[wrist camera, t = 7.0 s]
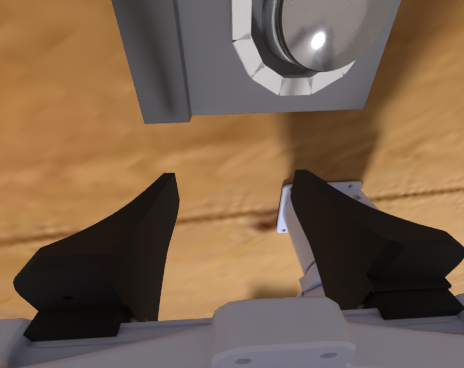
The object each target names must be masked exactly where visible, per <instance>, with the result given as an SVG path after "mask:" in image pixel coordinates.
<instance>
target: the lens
mask: <svg viewBox="0 0 464 368" xmlns="http://www.w3.org/2000/svg"><path fill="white" fill-rule="evenodd" d="M393 4H394V0H266V1H265V4H264V8H263V12H262V33H263V37H264V40H265V43H266V45H267V47H268V48H269V50H270V51H271V52H272V53H273V54H274V55H275V56H276V57H278V58H279V59H281V60H284V61H287V62H290V63H293V64H296V65H297V66H300V67H302V68H305V69H308V70H311V71H315V72H329V71H334V70H337V69H340V68H342V67H345V66H347V65H349V64H350V63H352V62H353V61H355V60H356V59H358V58H359V57H360V56H361V55H362V54H364V53H365V52H366V51H367V50H368V49H369V47H370V46H371V45H372V44H373V43H374V41H375V40H376V39H377V38H378V36H379V34H380V33H381V31H382V30H383V28H384V26H385V24H386V22H387V20H388V18H389V15H390V13H391V10H392V7H393Z"/></svg>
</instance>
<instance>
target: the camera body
mask: <svg viewBox="0 0 464 368" xmlns="http://www.w3.org/2000/svg"><path fill="white" fill-rule="evenodd" d="M265 1H266V0H112V4H113V8H114V12H115V15H116V19H117V23H118V27H119V30H120V34H121V38H122V41H123V45H124V49H125V53H126V56H127V60H128V64H129V68H130V71H131V75H132V79H133V82H134V86H135V90H136V94H137V97H138V101H139V105H140V109H141V112H142V116H143V120H144V123H145V124H154V123H181V122H190V119H191V116H192V115H218V114H246V113H274V112H302V111H330V110H359V109H364V107H365V104H366V101H367V98H368V95H369V93H370V90H371V87H372V84H373V81H374V78H375V75H376V72H377V69H378V66H379V64H380V61H381V58H382V55H383V52H384V49H385V46H386V43H387V40H388V37H389V35H390V32H391V29H392V26H393V23H394V20H395V17H396V14H397V11H398V9H399V6H400V3H401V0H394V4H393V7H392V10H391V13H390V15H389V18H388V20H387V22H386V24H385V26H384V28H383V30H382V31H381V33H380V34H379V36H378V38H377V39H376V40H375V41H374V43H373V44H372V45H371V46H370V47H369V49H368V50H367V51H366V52H365V53H364V54H362V55H361V56H360V57H359V58H358V59H356V60H355V61H353V62H352V63H350V64H349V65H347V66H345V67H342V68H340V69H337V70H334V71H329V72H315V71H311V70H308V69H305V68H302V67H300V66H297V65H296V64H293V63H290V62H287V61H284V60H281V59H279V58H278V57H276V56H275V55H274V54H273V53H272V52H271V51H270V50H269V48H268V47H267V45H266V43H265V40H264V37H263V33H262V12H263V8H264V4H265Z"/></svg>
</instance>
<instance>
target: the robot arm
mask: <svg viewBox="0 0 464 368" xmlns="http://www.w3.org/2000/svg"><path fill="white" fill-rule="evenodd" d="M349 185H350V186H349ZM361 187H362V183H361V182H360V181H350V182H330V183H326V182H325V181H323V180H322V179H320V178H319V177H317V176H316V175H314V174H313V173H311V172H309V171H308V170H296V171H295V176H294V180H293V184H289V185H285V186H283V188H282V195H281V201H280V207H279V214H278V220H277V227H276V231H277V232H278V233H286V232H288V233H289V236H290V238H291V241H292V244H293V246H294V249H295V252H296V255H297V257H298V260H299V263H300V266H301V268H302V271H303V274H304V276H303V277H302V278H300V279H299V281H300V284H301V287H302V290H303V291H300V292H299V293H298V294H297V297H283V298H265V299H247V300H239V301H234V302H228V303H227V304H225V305H223V306H221V307H219V308H218V309H217V310H216V311H215V313H214V315H213V317H212V318H203V319H186V320H169V321H158V313H159V304H160V296H161V289H162V282H163V275H164V268H165V262H166V256H167V251H168V247H169V243H170V240H171V236H172V233H173V229H174V226H175V222H176V219H177V215H178V209H179V201H180V199H179V194H178V189H177V183H176V178H175V173H164V174H162V175H161V176H160V177H159V178H158V179H157V180H156V181H155V182H154V183H153V184H152V185H150V186H149V187H148V188H147V189H146V190H145V191H144V192H142V193H141V194H140V195H139V196H138V197H136V198H135V199H134V200H133V201H131V202H130V203H129V204H127V205H126V206H124V207H123V208H121V209H120V210H118V211H117V212H115V213H114V214H112V215H110V216H109V217H107V218H105V219H103V220H102V221H100V222H98V223H96V224H94V225H92V226H90V227H88V228H86V229H84V230H82V231H80V232H78V233H76V234H74V235H71V236H69V237H67V238H64V239H62V240H59V241H57V242H54V243H52V244H49V245H47V246H44V247H41V248H40V249H39V250H38V251H37V252H36V253H35V254H34V256H33V257H32V258H31V259H30V260H29V262H28V263H27V264H26V265H25V266H24V267H23V269H22V270H21V271H20V272H19V273H18V274H17V276H16V277H15V278H14V281H13V284H14V287H15V290H16V291H17V293H18V294H19V295H20V296H21V297H22V298H24V299H25V300H26V301H27V302H28V303H29V304H31V305H32V306H33V307H34V308H35V309H36V310H38V313H37V314H36V316H35V317H34V319H33V320H29V319H23V318H17V319H0V368H464V294H459V295H456V296H454V295H453V294H452V293H451V292H450V291H449V290H448V289H449V288H451V287H452V286H451V284H450V283H449V282H448V281H447V279H446V278H445V277H446V276H447V275H448V274H449V273H450V272H451V271H452V270H453V269H454V268H455V267H456V266H458V265H459V263H460V262H461V261H462V260H463V258H464V247H463V246H462V245H461V244H460V243H459V242H458V241H457V240H455V239H454V238H453V237H452V236H451V235H450V234H448V233H447V232H446V231H442V230H439V229H435V228H431V227H428V226H424V225H420V224H417V223H413V222H410V221H407V220H404V219H401V218H398V217H395V216H393V215H390V214H387V213H385V212H382V211H380V210H379V209H378V208H377V207H376V206H375V205H374V204H373V203H372V202H371V201H370V200H369V199H368V198H367V196H366V195H365V194H364V193H363V192H362V191H361ZM290 188H292V189H290Z"/></svg>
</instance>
